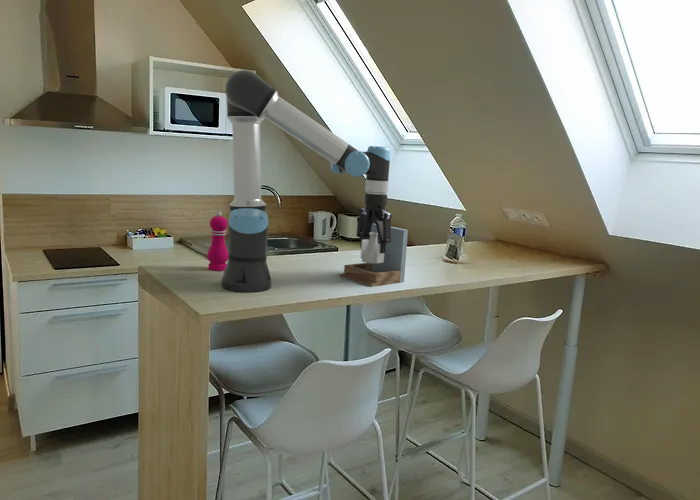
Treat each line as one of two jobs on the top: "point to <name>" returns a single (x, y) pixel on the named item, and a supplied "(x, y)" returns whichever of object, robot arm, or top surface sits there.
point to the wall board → (393, 252)
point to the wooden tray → (369, 275)
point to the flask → (371, 249)
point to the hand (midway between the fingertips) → (371, 260)
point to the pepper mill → (218, 243)
